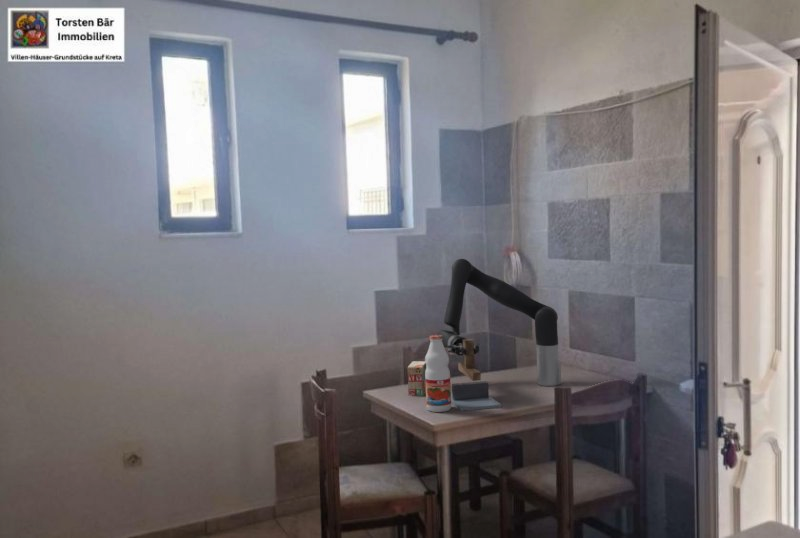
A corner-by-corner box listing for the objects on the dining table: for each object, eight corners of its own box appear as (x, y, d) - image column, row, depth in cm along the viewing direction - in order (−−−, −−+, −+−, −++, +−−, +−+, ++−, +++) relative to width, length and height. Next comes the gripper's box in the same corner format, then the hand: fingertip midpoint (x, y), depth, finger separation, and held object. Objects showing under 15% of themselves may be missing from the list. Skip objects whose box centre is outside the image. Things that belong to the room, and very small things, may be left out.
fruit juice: (449, 405, 240) (447, 333, 239) (452, 411, 231) (450, 336, 230) (425, 406, 240) (422, 334, 239) (427, 413, 230) (424, 338, 229)
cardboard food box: (416, 384, 279) (415, 357, 279) (430, 384, 278) (429, 357, 277) (408, 396, 258) (407, 366, 258) (423, 396, 257) (422, 366, 256)
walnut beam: (466, 369, 256) (465, 335, 255) (481, 380, 236) (480, 343, 236) (457, 370, 255) (456, 336, 254) (472, 380, 236) (471, 344, 235)
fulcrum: (479, 391, 260) (479, 375, 260) (501, 407, 235) (500, 388, 234) (442, 394, 257) (442, 378, 257) (460, 410, 232) (459, 392, 231)
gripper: (441, 336, 258) (452, 343, 241) (474, 334, 260) (487, 341, 243) (442, 354, 258) (453, 362, 241) (475, 352, 261) (488, 360, 244)
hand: (470, 351), depth 242 cm, fingers closed on walnut beam, 3 cm apart
